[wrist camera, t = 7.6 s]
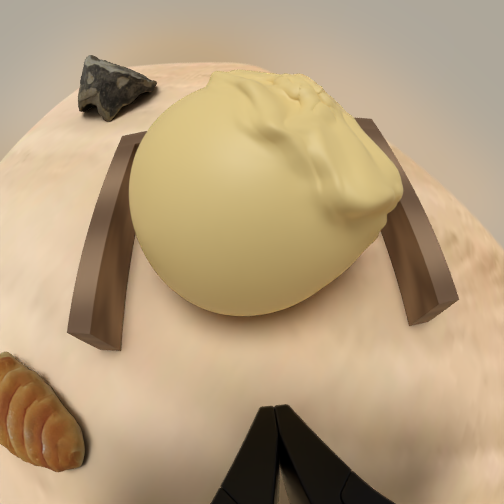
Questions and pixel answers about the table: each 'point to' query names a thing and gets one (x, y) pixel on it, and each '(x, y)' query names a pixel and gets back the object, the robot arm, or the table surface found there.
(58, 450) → the pastry
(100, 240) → the frame
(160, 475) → the table surface
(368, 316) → the table surface
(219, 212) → the sculpture
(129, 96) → the fossil
